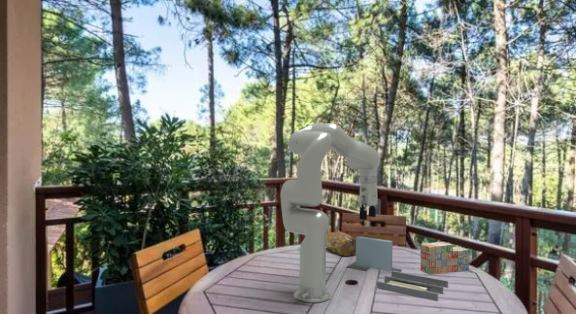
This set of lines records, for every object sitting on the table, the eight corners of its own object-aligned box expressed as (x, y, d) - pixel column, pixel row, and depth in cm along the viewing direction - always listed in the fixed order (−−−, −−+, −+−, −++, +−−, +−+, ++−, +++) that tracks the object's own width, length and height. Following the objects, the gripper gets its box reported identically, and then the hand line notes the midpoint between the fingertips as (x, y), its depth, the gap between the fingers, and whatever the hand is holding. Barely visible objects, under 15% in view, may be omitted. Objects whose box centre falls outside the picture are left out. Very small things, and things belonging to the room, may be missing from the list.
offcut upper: (423, 296, 138) (423, 291, 138) (386, 288, 146) (386, 283, 146) (427, 292, 142) (427, 288, 142) (390, 284, 150) (390, 280, 150)
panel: (389, 272, 166) (390, 242, 166) (355, 265, 175) (356, 237, 175) (392, 270, 169) (392, 240, 169) (358, 264, 178) (358, 236, 178)
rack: (437, 303, 133) (437, 294, 133) (377, 290, 146) (377, 282, 146) (448, 289, 147) (448, 281, 147) (392, 278, 160) (392, 271, 160)
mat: (394, 276, 162) (394, 275, 162) (346, 267, 174) (346, 266, 174) (401, 270, 170) (401, 269, 170) (355, 262, 183) (355, 261, 183)
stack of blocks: (458, 266, 177) (458, 240, 177) (469, 270, 172) (469, 243, 171) (420, 270, 171) (420, 243, 170) (429, 275, 165) (429, 246, 164)
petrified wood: (362, 255, 194) (359, 236, 193) (339, 263, 190) (336, 243, 189) (344, 245, 212) (341, 227, 211) (323, 251, 208) (320, 234, 207)
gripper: (368, 181, 163) (367, 221, 163) (383, 179, 177) (382, 216, 177) (352, 180, 167) (351, 219, 167) (368, 178, 181) (367, 214, 182)
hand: (367, 218), depth 172 cm, fingers open, 9 cm apart
